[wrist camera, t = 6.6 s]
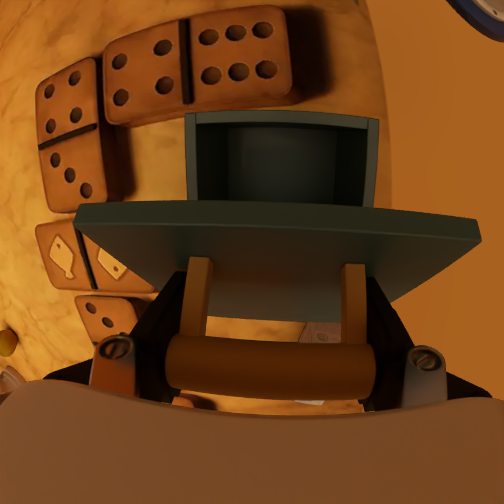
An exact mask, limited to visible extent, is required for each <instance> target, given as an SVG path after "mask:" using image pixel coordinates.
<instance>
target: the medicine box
mask: <svg viewBox="0 0 504 504" xmlns="http://www.w3.org/2000/svg"><path fill="white" fill-rule="evenodd" d="M298 342H300V343H341V324H340V323H337V322H307V324H306V326H305V328H304V330H303V332H302V334H301V337H300V339H299V341H298ZM292 401H296V402H301V403H307V404H314V405H322V404H323V403H324V401H298V400H292Z"/></svg>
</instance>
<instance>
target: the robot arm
mask: <svg viewBox="0 0 504 504" xmlns="http://www.w3.org/2000/svg"><path fill="white" fill-rule="evenodd" d="M472 1H473V2H474V3H475V4H476V5H477V6H478V7H479V8H480V9H481V10H482V11H484V12H485V13H486V14H488V15H489V16H491V17H492V18H494V19H496V20H498V21H500V22H504V0H472ZM186 277H187V271H175V272H174V274H173V275H172V276H171V278H170V279H169V280H168V282H167V283H166V285H165V286H164V287H163V289H162V290H161V291H160V293H159V294H158V296H157V297H156V299H155V300H154V301H152V302H151V304H150V305H149V307H148V308H147V309H146V311H145V312H144V314H143V315H142V316H141V318H140V319H139V321H138V322H137V324H136V325H135V327H134V328H133V329H132V331H131V332H130V334H129V335H128V336H127V335H123V334H116V335H111V336H109V337H106V338H104V339H103V340H101V341H100V342H99V343H98V344H97V346H96V348H95V352H94V357H93V358H92V359H89V360H86V361H83V362H81V363H78V364H75V365H72V366H69V367H66V368H63V369H60V370H57V371H54V372H52V373H49V374H48V375H46V376H45V377H44V378H43V380H34V381H29V382H26V383H24V384H22V385H20V386H19V387H18V388H16V389H15V390H12V391H9V392H5V393H2V394H0V504H504V401H503V400H500V399H496V398H492V396H491V395H490V393H488V391H486V390H484V389H482V388H480V387H478V386H476V385H474V384H472V383H469V382H467V381H465V380H463V379H461V378H459V377H457V376H455V375H452V374H450V373H448V372H446V365H445V359H444V357H443V356H442V354H441V353H440V352H439V351H437V350H436V349H434V348H432V347H429V346H424V345H419V346H415V345H414V344H413V342H412V340H411V338H410V336H409V334H408V332H407V330H406V329H405V327H404V325H403V323H402V321H401V320H400V318H399V316H398V314H397V312H396V311H395V310H394V309H393V308H392V306H391V304H390V303H389V301H388V299H387V297H386V296H385V294H384V292H383V291H382V289H381V287H380V286H379V284H378V282H377V281H376V279H375V278H374V277H366V302H367V343H368V344H370V345H371V346H372V348H373V350H374V353H375V359H376V377H375V383H374V387H373V390H372V392H371V394H370V396H369V397H367V398H365V399H358V402H359V404H363V407H364V411H365V412H366V413H354V414H339V415H311V416H284V415H258V414H243V413H231V412H221V411H212V410H204V409H197V408H190V407H183V406H177V405H171V404H172V401H173V399H174V396H176V397H178V396H179V394H180V392H181V389H177V388H173V387H171V386H170V385H169V384H168V382H167V380H166V375H165V358H166V352H167V348H168V345H169V342H170V340H171V338H172V337H173V336H174V335H175V334H177V333H179V329H180V321H181V313H182V305H183V298H184V291H185V284H186ZM161 402H164V403H161ZM166 403H169V404H166ZM369 411H375V412H369Z"/></svg>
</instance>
